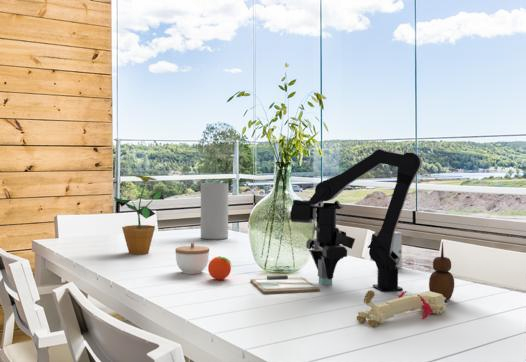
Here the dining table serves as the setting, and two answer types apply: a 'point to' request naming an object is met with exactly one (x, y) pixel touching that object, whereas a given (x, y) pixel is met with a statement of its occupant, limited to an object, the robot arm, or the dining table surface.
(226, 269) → the clementine
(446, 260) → the wooden figurine
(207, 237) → the cylinder vase
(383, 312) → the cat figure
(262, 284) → the square wooden frame
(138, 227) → the potted plant
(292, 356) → the dining table surface
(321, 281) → the grey and teal block
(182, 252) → the lidded jar
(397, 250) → the skincare box
